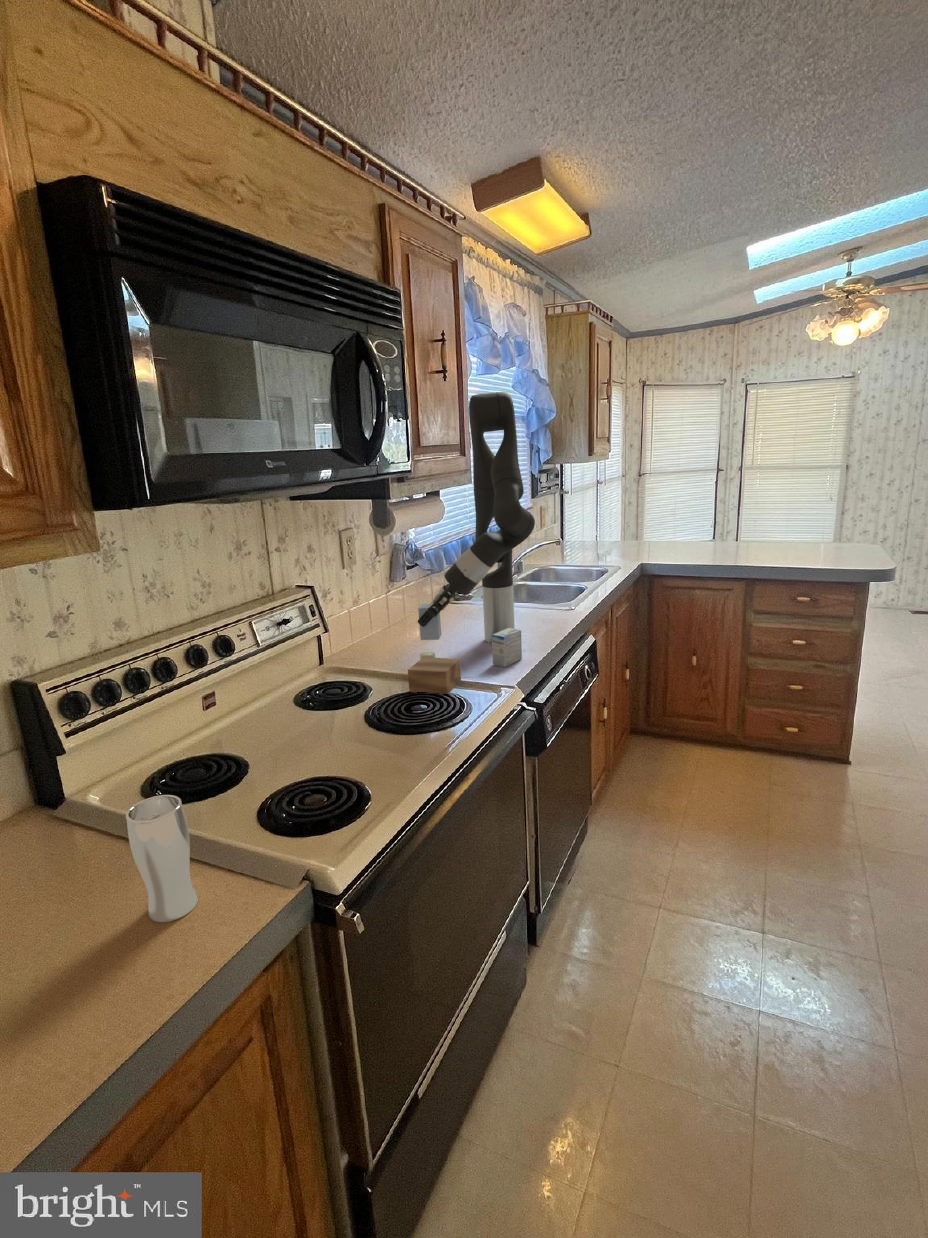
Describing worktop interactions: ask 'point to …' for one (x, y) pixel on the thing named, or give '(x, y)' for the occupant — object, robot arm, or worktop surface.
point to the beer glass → (162, 855)
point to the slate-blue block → (430, 625)
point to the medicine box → (506, 647)
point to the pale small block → (427, 655)
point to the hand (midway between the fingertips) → (422, 621)
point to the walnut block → (434, 675)
